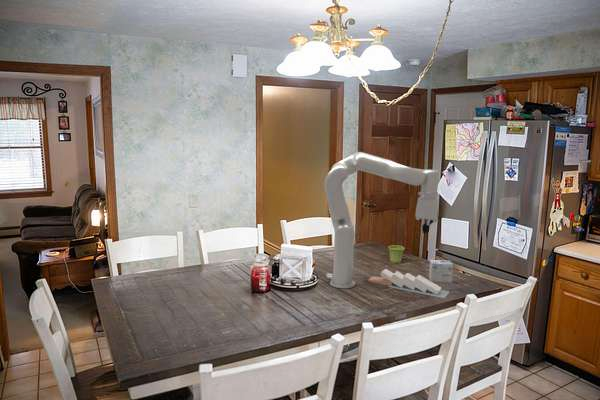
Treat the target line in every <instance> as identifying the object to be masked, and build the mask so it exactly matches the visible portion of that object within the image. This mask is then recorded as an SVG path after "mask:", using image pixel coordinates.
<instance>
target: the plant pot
mask: <svg viewBox="0 0 600 400" xmlns="http://www.w3.org/2000/svg"><path fill="white" fill-rule="evenodd" d="M404 250H405V247H404V246H402V245H398V244H397V245H394V244H392V245H388V251H389V261H390V262H391V263H395V264H396V263H399V264H400V263H401V262H402V258H403V253H404Z"/></svg>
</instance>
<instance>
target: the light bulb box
mask: <svg viewBox="0 0 600 400" xmlns="http://www.w3.org/2000/svg"><path fill="white" fill-rule="evenodd" d="M453 269H454V263H453V262H452V261H451V260H441V259H429V271H428V280H429V281H431V282H433V283H453V273H454V272H453Z"/></svg>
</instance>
